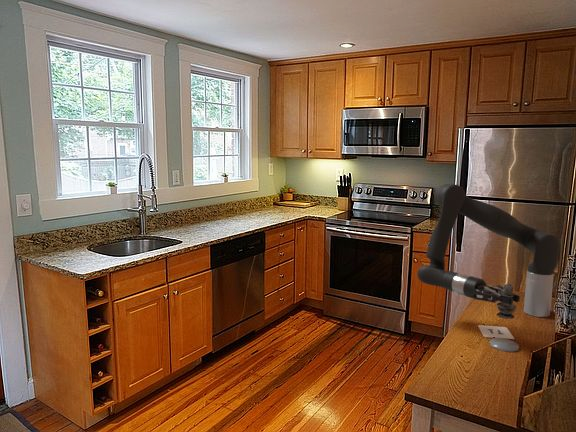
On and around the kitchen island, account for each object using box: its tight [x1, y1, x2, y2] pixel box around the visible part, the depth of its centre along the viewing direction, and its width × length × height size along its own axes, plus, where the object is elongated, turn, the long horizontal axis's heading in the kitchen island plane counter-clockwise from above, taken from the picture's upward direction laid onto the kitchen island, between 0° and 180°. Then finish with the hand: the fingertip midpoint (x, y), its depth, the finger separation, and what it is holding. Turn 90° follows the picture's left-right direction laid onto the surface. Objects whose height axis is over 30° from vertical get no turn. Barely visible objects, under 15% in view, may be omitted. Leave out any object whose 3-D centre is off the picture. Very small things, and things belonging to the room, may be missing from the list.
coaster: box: [489, 338, 520, 353], centre depth 148 cm, size 9×9×1 cm
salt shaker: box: [496, 281, 517, 320], centre depth 145 cm, size 6×6×12 cm
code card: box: [477, 324, 515, 340], centre depth 158 cm, size 10×10×1 cm
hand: (515, 300), depth 143 cm, fingers closed on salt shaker, 3 cm apart
